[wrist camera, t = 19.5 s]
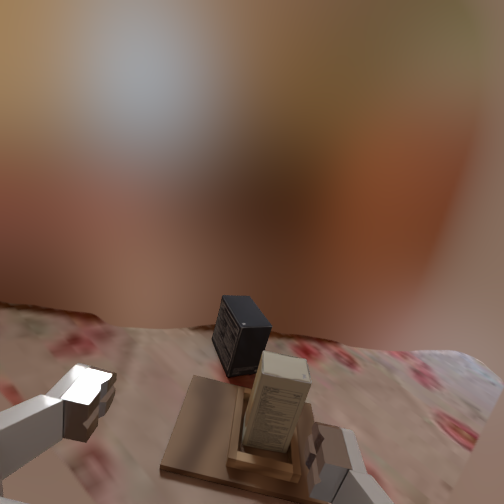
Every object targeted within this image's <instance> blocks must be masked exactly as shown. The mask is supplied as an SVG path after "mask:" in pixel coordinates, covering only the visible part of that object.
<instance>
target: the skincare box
mask: <svg viewBox="0 0 504 504" xmlns="http://www.w3.org/2000/svg"><path fill="white" fill-rule="evenodd" d="M311 384H312V382H311V377H310V373H309V368H308V364H307V360H306V359H302V358H298V357H293V356H289V355H284V354H279V353H274V352H268V351H263V352H262V355H261V359H260V363H259V366H258V370H257V373H256V377H255V380H254V384H253V387H252V391H251V395H250V398H249V402H248V405H247V409H246V412H245V416H244V423H243V434H242V444H243V445H245V446H250V447H254V448H259V449H265V450H270V451H276V452H282V453H286V452H287V450H288V447H289V444H290V441H291V439H292V436H293V433H294V430H295V428H296V425H297V422H298V419H299V417H300V414H301V411H302V408H303V405H304V403H305V400H306V397H307V395H308V392H309V389H310V386H311Z"/></svg>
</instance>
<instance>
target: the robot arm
mask: <svg viewBox="0 0 504 504" xmlns="http://www.w3.org/2000/svg"><path fill="white" fill-rule="evenodd" d="M116 376H117V374H116V373H115V372H111V371H107V370H104V369H100V368H96V367H93V366H88V365H85V364H81V363H78V364H76V365H74V366H73V367H72V368H71V369H70V370H69V371H68V372H67V373H66V374H65V375H64V376H63V377H62V378H61V379H60V381H59V382H58V383H57V384H56V385H55V386H54V387H53V388H52V389H51V390H50V391H49V392H48V393H47V394H46V395H38V396H36V397H34V398H32V399H29V400H27V401H25V402H22V403H20V404H18V405H15V406H13V407H11V408H9V409H6V410H4V411H2V412H0V504H28V503H24V502H20V501H16V500H12V499H7V498H3V487H2V480H3V479H5V478H6V477H8V476H9V475H11V474H12V473H14V472H15V471H17V470H18V469H19V468H21V467H22V466H24V465H25V464H27V463H28V462H30V461H31V460H33V459H34V458H36V457H37V456H39V455H40V454H42V453H43V452H45V451H46V450H47V449H49V448H50V447H52V446H53V445H55V444H56V443H58V442H59V441H61V440H62V438H66V439H71V440H75V441H80V442H85V443H86V442H87V441H88V439H89V438H90V436H91V435H92V433H93V432H94V430H95V429H96V427H97V426H98V419H99V418H100V417H102V416H104V415H105V414H106V412H107V411H108V409H109V408H110V405H111V403H112V401H113V398H114V395H115V388H114V386H113V384H114V383H115V381H116ZM311 429H312V434H311V435H309V436H308V438H307V440H306V444H305V450H304V457H305V464H306V466H307V467H308V469H309V473H308V475H307V483H308V492H309V497H311V498H315V499H318V500H322V501H325V502H329V503H332V504H394V503H393V501H392V500H391V499H390V498H389V497H388V495H387V494H386V493H385V492H384V490H383V489H382V488H381V487H380V485H379V484H378V483H377V482H376V480H375V479H374V478H373V477H372V475H369V474H367V471H366V468H365V465H364V462H363V459H362V456H361V452H360V449H359V446H358V443H357V440H356V437H355V434H354V432H353V431H352V430H349V429H345V428H339V427H337V426H332V425H328V424H324V423H319V422H315V423H313V426H312V428H311Z"/></svg>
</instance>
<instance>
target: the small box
mask: <svg viewBox="0 0 504 504" xmlns="http://www.w3.org/2000/svg"><path fill="white" fill-rule="evenodd" d="M271 328H272V325H271V324H270V322H269V321H268V320H267V319H266V317H265V316H264V315H263V314H262V312H261V311H260V309H259V308H258V307H257V305H256V304H255V303H254V302H253V300H252V299H251V298H250V296H229V295H223V296H222V299H221V305H220V310H219V313H218V317H217V321H216V325H215V329H214V333H213V337H212V341H213V344H214V346H215V348H216V351H217V353H218V356H219V358H220V360H221V363H222V365H223V368H224V370H225V372H226V375H227V377H233V376H239V375H247V374H254V373H257V370H258V366H259V363H260V359H261V355H262V352H263V351H264V350H265V347H266V344H267V341H268V338H269V335H270V332H271Z"/></svg>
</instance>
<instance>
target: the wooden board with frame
mask: <svg viewBox="0 0 504 504" xmlns="http://www.w3.org/2000/svg"><path fill="white" fill-rule="evenodd" d="M251 391H252V389H249V388H245V387H241V386H237V385H232V384H228V383H224V382H220V381H216V380H212V379H208V378H204V377H200V376H196V375H193V378H192V380H191V383H190V386H189V388H188V391H187V394H186V397H185V399H184V402H183V405H182V407H181V410H180V413H179V415H178V418H177V421H176V424H175V426H174V429H173V432H172V434H171V437H170V440H169V443H168V445H167V448H166V451H165V453H164V456H163V459H162V461H161V464H160V469H161V470H165V471H169V472H174V473H178V474H182V475H186V476H190V477H194V478H198V479H202V480H207V481H211V482H215V483H219V484H223V485H227V486H231V487H235V488H240V489H244V490H248V491H252V492H256V493H260V494H264V495H268V496H273V497H277V498H281V499H285V500H289V501H293V502H297V503H301V504H328V502H325V501H322V500H318V499H315V498H311V497H309V492H308V483H307V475H308V473H309V469H308V467H307V466H306V464H305V457H304V450H305V444H306V440H307V438H308V436H309V435H311V434H312V429H311V428H312V426H313V423H314V419H313V413H312V407H311V404H309V403H304V405H303V408H302V411H301V414H300V417H299V419H298V422H297V425H296V428H295V430H294V433H293V436H292V439H291V441H290V444H289V447H288V450H287V452H286V453H282V452H276V451H270V450H265V449H259V448H254V447H250V446H245V445H243V444H242V434H243V423H244V416H245V412H246V409H247V405H248V402H249V398H250V395H251Z"/></svg>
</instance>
